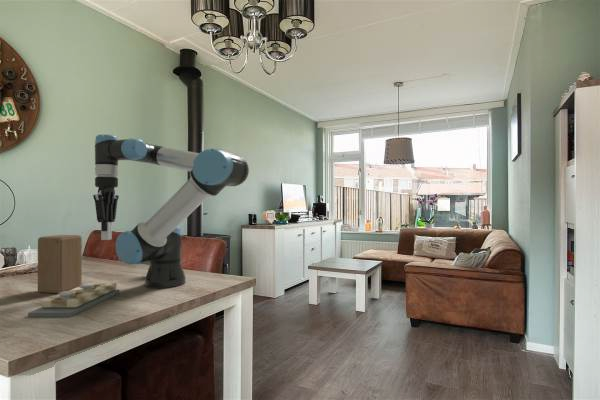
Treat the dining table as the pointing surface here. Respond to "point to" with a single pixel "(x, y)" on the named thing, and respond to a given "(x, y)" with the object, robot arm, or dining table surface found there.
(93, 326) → the dining table surface
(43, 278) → the wooden block
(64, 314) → the boss board
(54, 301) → the panel
